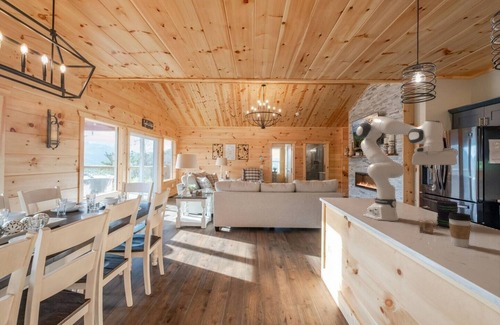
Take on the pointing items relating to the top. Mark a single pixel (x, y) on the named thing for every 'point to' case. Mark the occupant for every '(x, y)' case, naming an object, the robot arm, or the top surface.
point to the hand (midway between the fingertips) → (433, 173)
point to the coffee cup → (460, 229)
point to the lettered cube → (426, 226)
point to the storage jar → (445, 212)
